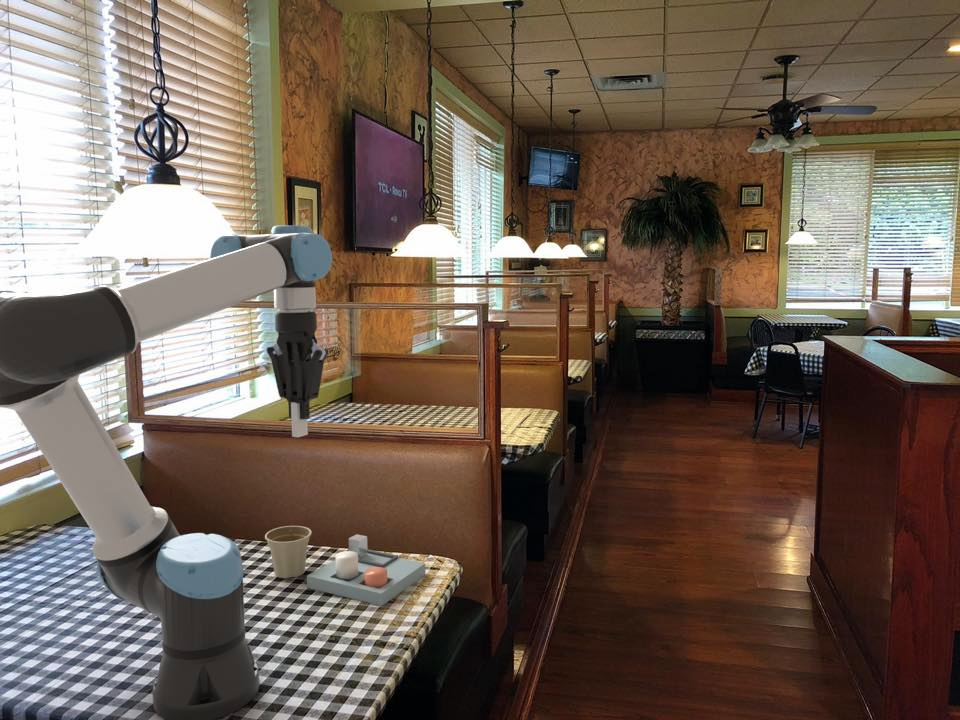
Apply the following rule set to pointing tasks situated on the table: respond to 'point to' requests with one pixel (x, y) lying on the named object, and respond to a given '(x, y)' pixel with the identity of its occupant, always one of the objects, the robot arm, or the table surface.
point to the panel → (398, 578)
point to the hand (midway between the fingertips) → (300, 435)
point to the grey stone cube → (358, 545)
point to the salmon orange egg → (376, 577)
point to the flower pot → (288, 550)
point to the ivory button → (346, 564)
